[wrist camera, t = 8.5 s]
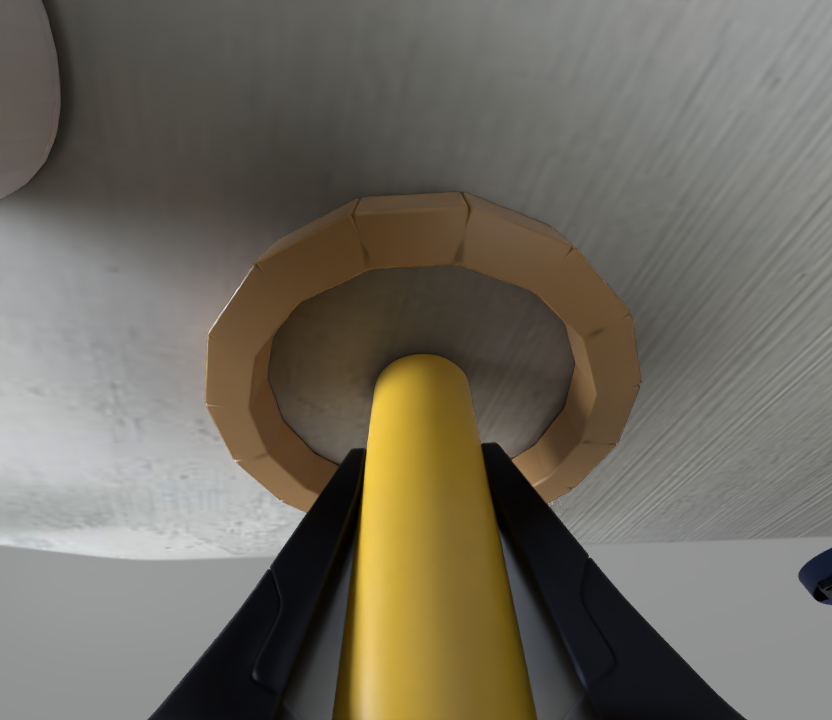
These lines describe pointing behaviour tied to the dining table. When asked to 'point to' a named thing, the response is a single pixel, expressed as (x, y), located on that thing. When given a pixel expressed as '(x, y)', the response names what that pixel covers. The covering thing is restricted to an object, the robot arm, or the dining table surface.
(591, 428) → the wooden ring
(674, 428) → the dining table surface
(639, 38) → the dining table surface
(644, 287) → the dining table surface
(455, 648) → the pencil stub
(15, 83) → the coffee cup
